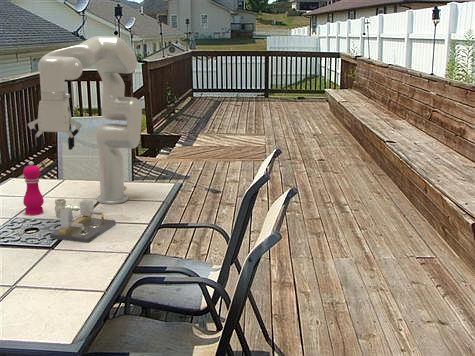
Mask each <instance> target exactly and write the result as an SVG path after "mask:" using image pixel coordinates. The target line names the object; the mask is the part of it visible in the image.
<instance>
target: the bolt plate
mask: <svg viewBox="0 0 475 356" xmlns="http://www.w3.org/2000/svg"><path fill="white" fill-rule="evenodd" d="M59 219H60V227H59V228H58V229H56V230H55V231H53V232H51V233H50V234H49V238H50V239H52V238H54V239H53V240H62V241H69V242H70V241H71V242H79V243H88V244H89V243H90V242H92V241H93V240H94V239H96V238H98V237H99V236H101V235H102V234H104V233H105V232H107V231H108V230H109V229H111V228H112V227H114V226H115V225H116V220H115V219H107V218H104V220H102V219H101V218H98V217H97V218H96V217H92V215H91V216H83V215H81V216H79V217H78V218H75V219H73V211H72V210H70V209H63V210H61V211H60V218H59Z"/></svg>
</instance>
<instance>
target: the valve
mask: <svg viewBox="0 0 475 356" xmlns="http://www.w3.org/2000/svg"><path fill="white" fill-rule="evenodd" d="M54 203H55V207H54V211H55V217H56V218H57V219H60V211H61V210H63V209H70V210H72V212H73V211H74V212H79V211H80V206H78V205H74V206H72V204H68V205H67V202H66V199H64V198H57V199H55V201H54Z"/></svg>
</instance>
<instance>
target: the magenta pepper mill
mask: <svg viewBox="0 0 475 356" xmlns="http://www.w3.org/2000/svg"><path fill="white" fill-rule="evenodd" d="M34 164H35V163H34V162H33V161H32V160H31V161H28V165H26V166H24V168H23V171H22V173H23V176H24V177H25V178H24V180H25V181H24V182H25V183H26V190H25V193H24V196H23V205H24V206H25V208H24V211H25V214H26V215H28V216H38V215H42V214H43V213H44V208H43V204H44V203H45V201H44V197H43V194H42V192H41V190H40V188H39V182H40V177H39V176H40V175H41V170H40V167H38V165H34Z"/></svg>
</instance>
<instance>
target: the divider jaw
mask: <svg viewBox="0 0 475 356" xmlns="http://www.w3.org/2000/svg"><path fill="white" fill-rule="evenodd" d="M79 205H80V206H79V207H80V210H79V211H80V216H91V217H92V215H96V216H101V218H100V219H102V220H104V219H105V217H104V216H105V215H104V212H103V211H98V210H97V211H96V210H95V208H94V200H91V199H82V200H80V201H79Z"/></svg>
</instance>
